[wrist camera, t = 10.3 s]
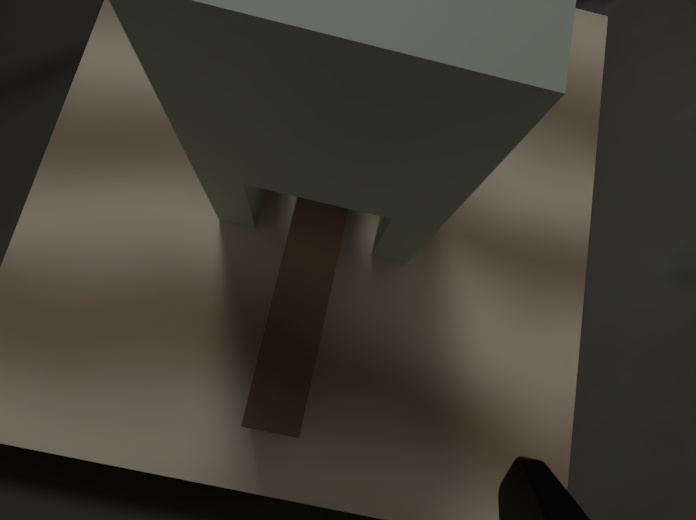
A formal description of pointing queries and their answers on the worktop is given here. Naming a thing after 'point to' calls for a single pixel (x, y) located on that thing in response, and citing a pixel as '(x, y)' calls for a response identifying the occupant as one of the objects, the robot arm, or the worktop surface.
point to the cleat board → (206, 289)
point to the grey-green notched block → (352, 99)
